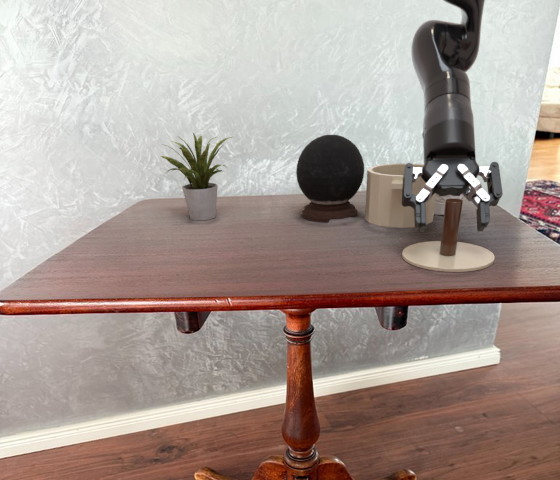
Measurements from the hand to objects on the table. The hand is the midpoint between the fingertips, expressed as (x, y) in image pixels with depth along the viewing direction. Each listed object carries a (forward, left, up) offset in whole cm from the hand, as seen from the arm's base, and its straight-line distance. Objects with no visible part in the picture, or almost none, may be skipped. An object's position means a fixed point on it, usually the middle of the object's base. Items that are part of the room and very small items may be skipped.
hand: (452, 228), depth 80 cm
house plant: (+48, -22, -5) cm, 53 cm away
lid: (0, -1, -5) cm, 5 cm away
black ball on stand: (+23, -26, -5) cm, 35 cm away
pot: (+9, -23, -5) cm, 26 cm away
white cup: (+1, -32, -5) cm, 33 cm away
